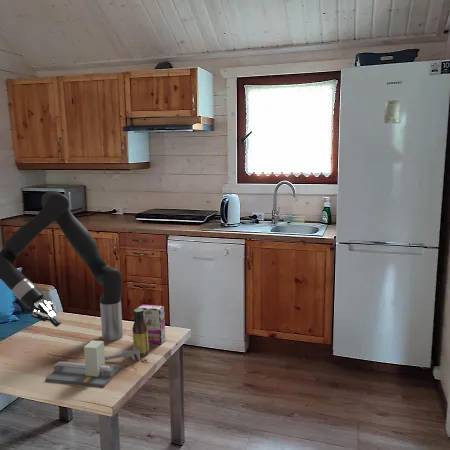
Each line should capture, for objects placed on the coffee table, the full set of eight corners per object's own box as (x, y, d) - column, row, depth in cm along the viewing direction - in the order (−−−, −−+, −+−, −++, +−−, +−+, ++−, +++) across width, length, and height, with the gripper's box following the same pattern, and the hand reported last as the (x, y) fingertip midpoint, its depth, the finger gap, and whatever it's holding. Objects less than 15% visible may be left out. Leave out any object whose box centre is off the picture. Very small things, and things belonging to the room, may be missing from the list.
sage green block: (93, 368, 176) (91, 340, 174) (105, 369, 175) (103, 341, 173) (85, 375, 170) (83, 347, 168) (97, 376, 169) (96, 348, 167)
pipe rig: (65, 363, 183) (65, 353, 182) (120, 368, 178) (120, 358, 177) (45, 380, 169) (44, 370, 169) (104, 387, 164) (103, 375, 164)
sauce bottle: (141, 349, 195) (139, 305, 192) (152, 352, 192) (150, 308, 188) (130, 354, 190) (128, 310, 187) (140, 358, 186) (138, 313, 183)
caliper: (140, 360, 186) (139, 346, 185) (139, 361, 185) (139, 347, 183) (90, 361, 185) (89, 347, 184) (89, 363, 184) (88, 348, 183)
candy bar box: (166, 340, 204) (164, 305, 201) (161, 344, 199) (160, 309, 197) (143, 337, 207) (142, 303, 204) (138, 342, 202) (137, 307, 200)
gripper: (22, 292, 166) (55, 325, 166) (43, 281, 179) (73, 312, 179) (11, 305, 168) (43, 338, 168) (32, 293, 181) (62, 324, 181)
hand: (59, 324), depth 173 cm, fingers closed
